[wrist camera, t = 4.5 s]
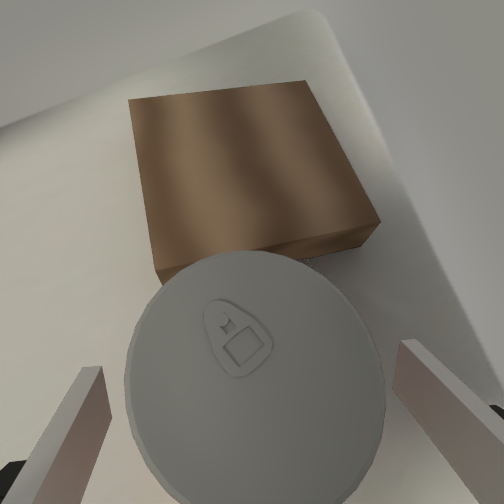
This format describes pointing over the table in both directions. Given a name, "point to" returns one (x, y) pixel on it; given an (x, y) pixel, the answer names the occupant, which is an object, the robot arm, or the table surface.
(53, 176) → the table surface
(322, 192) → the walnut stand
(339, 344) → the canned food
